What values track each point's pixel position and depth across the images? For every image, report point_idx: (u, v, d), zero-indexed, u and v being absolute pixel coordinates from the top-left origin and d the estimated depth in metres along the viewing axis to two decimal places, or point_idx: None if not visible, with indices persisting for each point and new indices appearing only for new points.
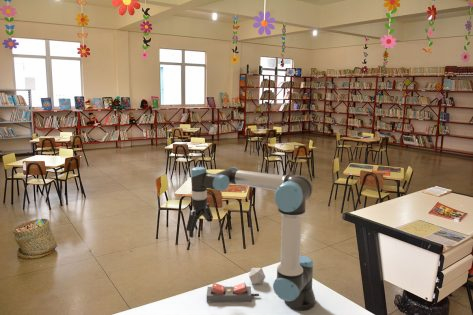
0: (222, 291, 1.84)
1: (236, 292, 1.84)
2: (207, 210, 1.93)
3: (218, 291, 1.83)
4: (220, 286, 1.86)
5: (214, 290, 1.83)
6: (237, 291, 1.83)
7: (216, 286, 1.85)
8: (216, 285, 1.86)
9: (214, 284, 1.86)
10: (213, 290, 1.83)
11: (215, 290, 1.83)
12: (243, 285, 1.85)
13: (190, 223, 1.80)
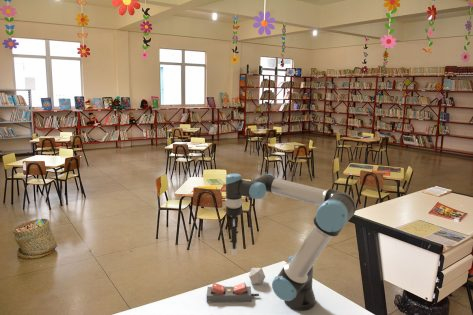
0: (222, 291, 1.84)
1: (236, 292, 1.84)
2: None
3: (218, 291, 1.83)
4: (220, 286, 1.86)
5: (214, 290, 1.83)
6: (237, 291, 1.83)
7: (216, 286, 1.85)
8: (216, 285, 1.86)
9: (214, 284, 1.86)
10: (213, 290, 1.83)
11: (215, 290, 1.83)
12: (243, 285, 1.85)
13: (235, 235, 1.73)
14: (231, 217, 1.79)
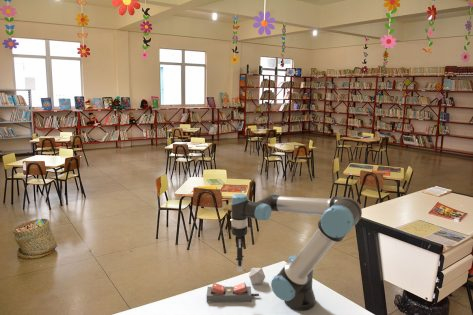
0: (222, 291, 1.84)
1: (236, 292, 1.84)
2: None
3: (218, 291, 1.83)
4: (220, 286, 1.86)
5: (214, 290, 1.83)
6: (237, 291, 1.83)
7: (216, 286, 1.85)
8: (216, 285, 1.86)
9: (214, 284, 1.86)
10: (213, 290, 1.83)
11: (215, 290, 1.83)
12: (243, 285, 1.85)
13: (240, 254, 1.77)
14: (237, 236, 1.81)
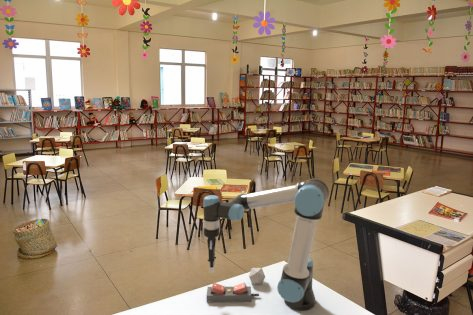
0: (222, 291, 1.84)
1: (236, 292, 1.84)
2: None
3: (218, 291, 1.83)
4: (220, 286, 1.86)
5: (214, 290, 1.83)
6: (237, 291, 1.83)
7: (216, 286, 1.85)
8: (216, 285, 1.86)
9: (214, 284, 1.86)
10: (213, 290, 1.83)
11: (215, 290, 1.83)
12: (243, 285, 1.85)
13: (212, 256, 1.77)
14: (209, 237, 1.81)
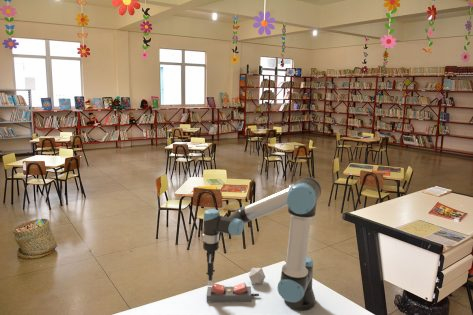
0: (222, 291, 1.83)
1: (236, 292, 1.84)
2: None
3: (218, 291, 1.83)
4: (220, 286, 1.86)
5: (214, 290, 1.83)
6: (237, 291, 1.83)
7: (216, 286, 1.85)
8: (216, 285, 1.86)
9: (214, 284, 1.86)
10: (213, 290, 1.83)
11: (215, 290, 1.83)
12: (243, 285, 1.85)
13: (211, 269, 1.79)
14: None
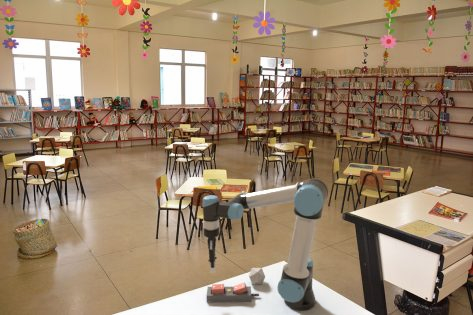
0: (222, 289, 1.83)
1: (236, 292, 1.84)
2: None
3: (218, 291, 1.83)
4: (219, 285, 1.86)
5: (214, 291, 1.84)
6: (237, 291, 1.83)
7: (215, 287, 1.85)
8: (215, 286, 1.86)
9: (213, 286, 1.86)
10: (213, 292, 1.84)
11: (215, 291, 1.83)
12: (243, 285, 1.85)
13: (212, 256, 1.77)
14: (209, 238, 1.81)
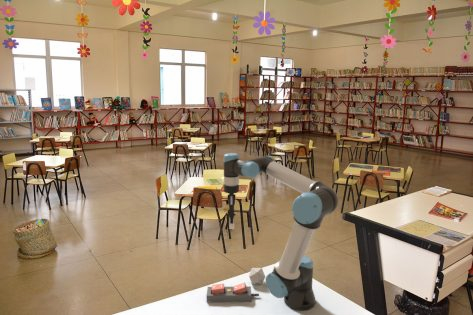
0: (222, 289, 1.83)
1: (236, 292, 1.84)
2: None
3: (218, 291, 1.83)
4: (219, 285, 1.86)
5: (214, 292, 1.84)
6: (237, 291, 1.83)
7: (215, 287, 1.85)
8: (215, 286, 1.86)
9: (213, 286, 1.86)
10: (213, 292, 1.84)
11: (215, 291, 1.84)
12: (243, 285, 1.85)
13: (232, 211, 1.84)
14: (229, 194, 1.87)
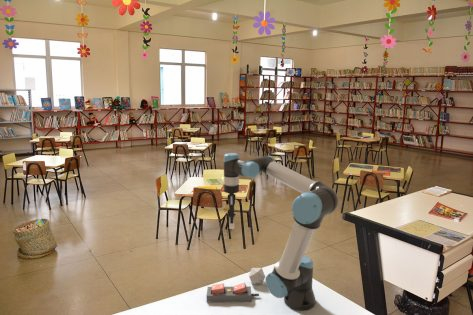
0: (222, 289, 1.83)
1: (236, 292, 1.84)
2: None
3: (218, 291, 1.83)
4: (219, 285, 1.86)
5: (214, 292, 1.84)
6: (237, 291, 1.83)
7: (215, 287, 1.85)
8: (215, 286, 1.86)
9: (213, 286, 1.86)
10: (213, 292, 1.84)
11: (215, 291, 1.84)
12: (243, 285, 1.85)
13: (232, 211, 1.84)
14: (229, 194, 1.88)
